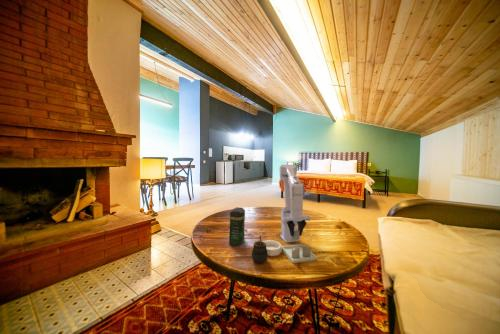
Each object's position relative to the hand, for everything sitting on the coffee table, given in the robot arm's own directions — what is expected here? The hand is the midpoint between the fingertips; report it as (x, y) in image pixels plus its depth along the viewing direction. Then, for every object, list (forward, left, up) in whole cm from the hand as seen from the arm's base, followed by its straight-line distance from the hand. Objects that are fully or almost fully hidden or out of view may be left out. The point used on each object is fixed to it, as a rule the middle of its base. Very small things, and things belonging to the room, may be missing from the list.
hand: (295, 235), depth 92 cm
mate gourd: (+4, -20, -9) cm, 22 cm away
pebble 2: (+6, +3, -8) cm, 10 cm away
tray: (+3, 0, -8) cm, 9 cm away
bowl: (-4, -12, -8) cm, 15 cm away
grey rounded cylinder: (0, 0, -1) cm, 1 cm away
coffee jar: (-17, -27, -9) cm, 33 cm away
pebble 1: (+6, -3, -8) cm, 10 cm away
